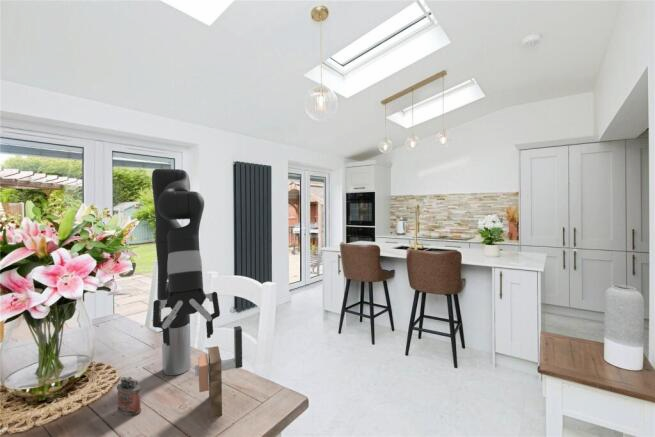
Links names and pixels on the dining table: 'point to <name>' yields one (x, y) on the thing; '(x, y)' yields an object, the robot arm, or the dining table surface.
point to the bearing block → (215, 382)
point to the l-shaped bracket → (237, 359)
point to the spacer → (203, 373)
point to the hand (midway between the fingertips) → (189, 341)
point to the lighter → (129, 397)
